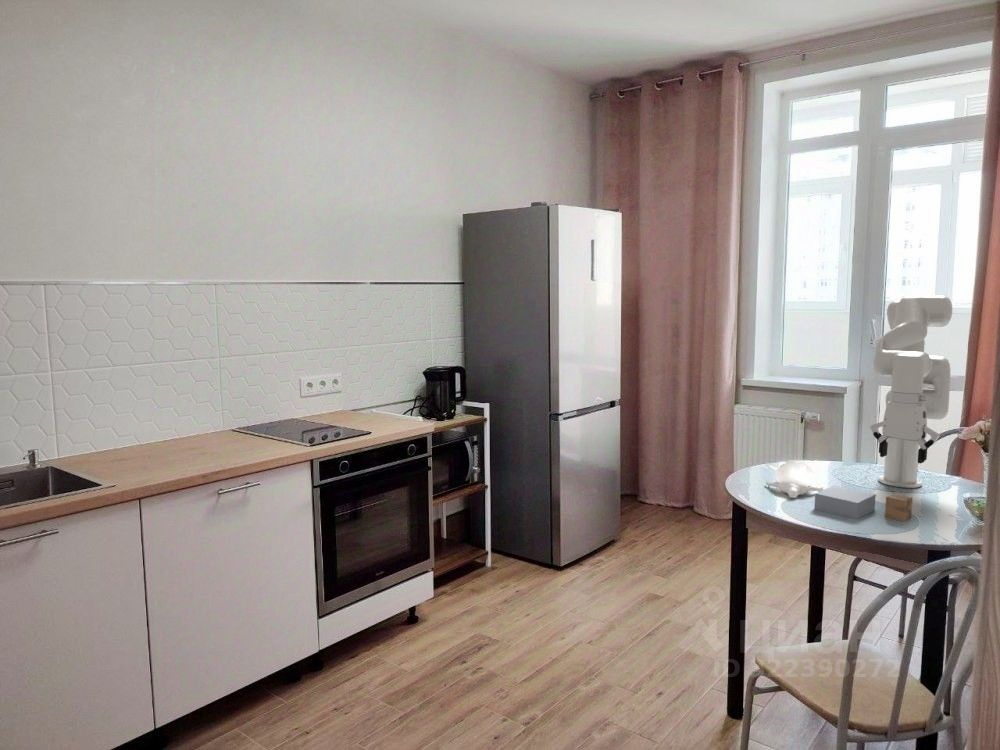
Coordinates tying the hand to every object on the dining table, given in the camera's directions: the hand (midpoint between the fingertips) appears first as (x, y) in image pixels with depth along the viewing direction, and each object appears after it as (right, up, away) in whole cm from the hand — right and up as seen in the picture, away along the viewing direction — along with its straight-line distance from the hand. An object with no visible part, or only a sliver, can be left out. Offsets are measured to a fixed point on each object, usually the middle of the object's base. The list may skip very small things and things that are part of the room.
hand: (901, 459), depth 193 cm
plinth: (-11, -16, +10) cm, 22 cm away
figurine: (-17, -14, +31) cm, 38 cm away
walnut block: (0, -17, +2) cm, 17 cm away
